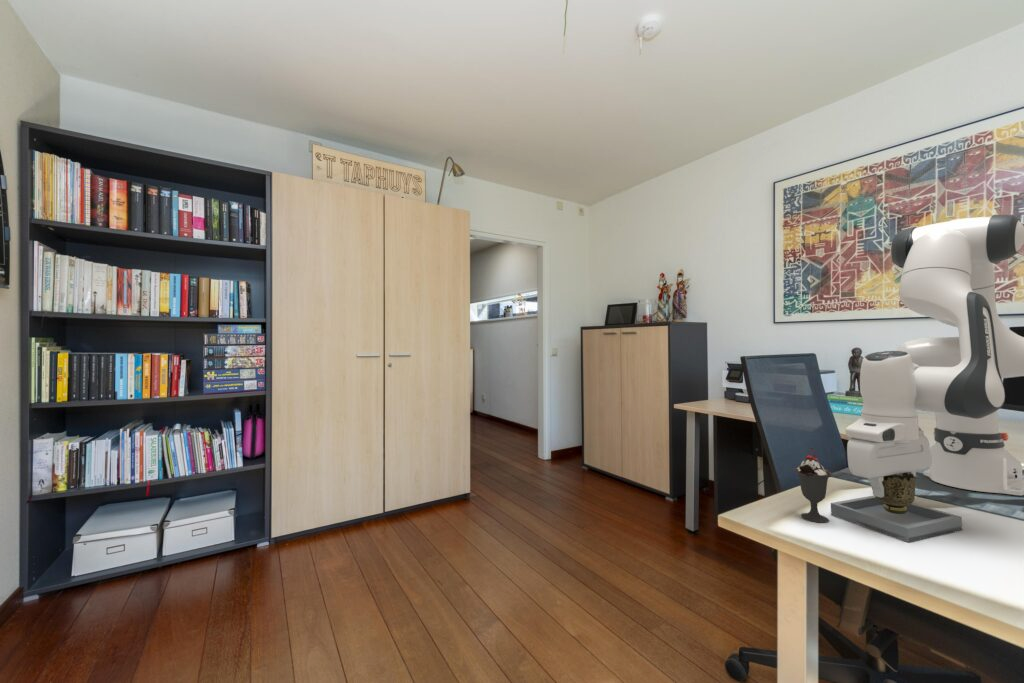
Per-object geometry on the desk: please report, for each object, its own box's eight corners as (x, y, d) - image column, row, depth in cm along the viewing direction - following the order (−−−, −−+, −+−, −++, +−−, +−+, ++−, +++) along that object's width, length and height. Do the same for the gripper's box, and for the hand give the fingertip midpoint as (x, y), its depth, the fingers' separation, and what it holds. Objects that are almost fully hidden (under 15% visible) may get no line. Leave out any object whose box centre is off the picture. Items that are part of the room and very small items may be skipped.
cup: (864, 510, 87) (859, 472, 88) (883, 504, 90) (878, 467, 91) (909, 520, 80) (903, 479, 81) (928, 514, 83) (922, 474, 84)
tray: (881, 505, 95) (880, 494, 95) (962, 530, 81) (961, 516, 81) (831, 514, 90) (830, 503, 90) (908, 542, 77) (907, 528, 77)
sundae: (820, 512, 92) (817, 445, 92) (841, 524, 85) (838, 452, 85) (789, 511, 92) (786, 445, 93) (807, 524, 86) (804, 452, 86)
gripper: (904, 422, 92) (907, 483, 92) (839, 429, 86) (842, 495, 86) (940, 426, 86) (944, 492, 86) (873, 434, 80) (877, 505, 80)
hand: (892, 494), depth 86 cm, fingers closed on cup, 6 cm apart
